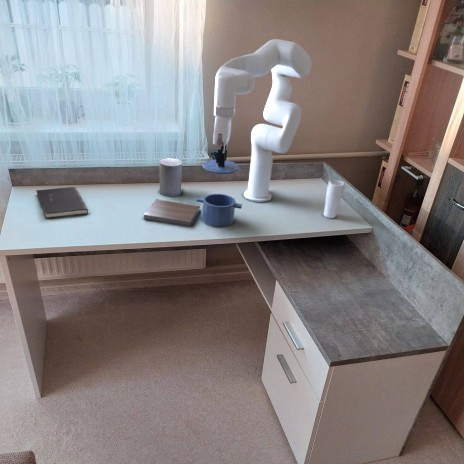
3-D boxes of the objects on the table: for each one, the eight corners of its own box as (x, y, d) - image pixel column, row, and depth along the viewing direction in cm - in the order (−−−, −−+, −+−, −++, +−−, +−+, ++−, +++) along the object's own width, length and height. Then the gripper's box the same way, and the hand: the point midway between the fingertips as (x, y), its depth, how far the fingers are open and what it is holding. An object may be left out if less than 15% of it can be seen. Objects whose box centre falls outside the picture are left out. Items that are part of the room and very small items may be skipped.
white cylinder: (338, 214, 210) (345, 181, 202) (335, 220, 205) (343, 187, 196) (323, 211, 212) (330, 178, 203) (320, 217, 207) (327, 183, 198)
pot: (200, 210, 202) (200, 190, 197) (242, 216, 200) (244, 197, 195) (192, 222, 192) (193, 202, 187) (237, 230, 190) (239, 210, 185)
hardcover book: (45, 218, 184) (45, 213, 183) (36, 195, 200) (36, 190, 199) (88, 214, 190) (87, 208, 189) (76, 191, 207) (75, 186, 205)
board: (156, 203, 204) (156, 199, 203) (200, 210, 202) (200, 205, 201) (143, 219, 191) (143, 214, 190) (190, 226, 189) (190, 221, 188)
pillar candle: (155, 193, 212) (155, 159, 204) (166, 186, 220) (166, 153, 211) (175, 198, 210) (175, 164, 201) (185, 190, 217) (186, 158, 209)
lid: (207, 160, 190) (207, 143, 186) (241, 165, 189) (242, 148, 185) (198, 172, 179) (199, 154, 175) (235, 177, 178) (236, 159, 174)
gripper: (218, 104, 178) (215, 153, 189) (209, 115, 165) (206, 167, 176) (238, 106, 178) (234, 156, 189) (230, 118, 165) (226, 170, 176)
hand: (221, 161), depth 182 cm, fingers closed on lid, 2 cm apart
